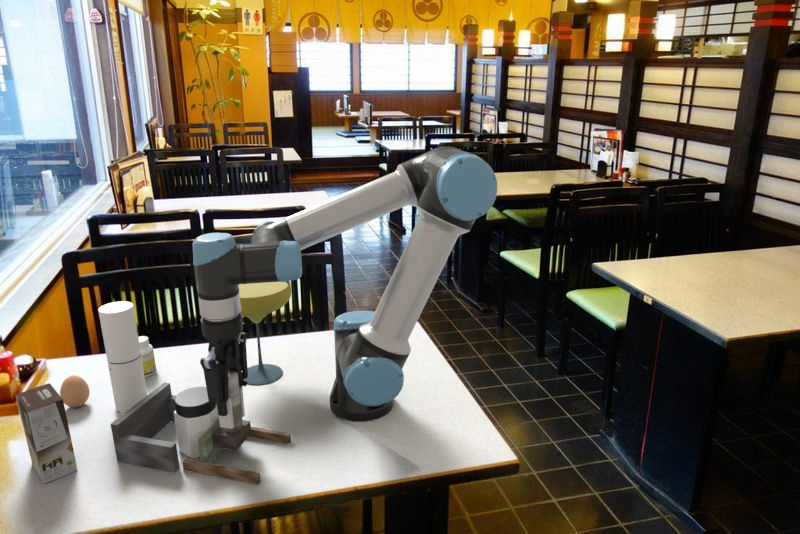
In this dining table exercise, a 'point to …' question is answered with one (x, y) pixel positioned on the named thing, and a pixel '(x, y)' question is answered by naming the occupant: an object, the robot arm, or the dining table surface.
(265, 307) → the cocktail glass
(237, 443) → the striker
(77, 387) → the egg
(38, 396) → the coffee box
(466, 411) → the dining table surface
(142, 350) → the supplement bottle
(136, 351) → the cylindrical container
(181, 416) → the jar
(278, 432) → the lane
